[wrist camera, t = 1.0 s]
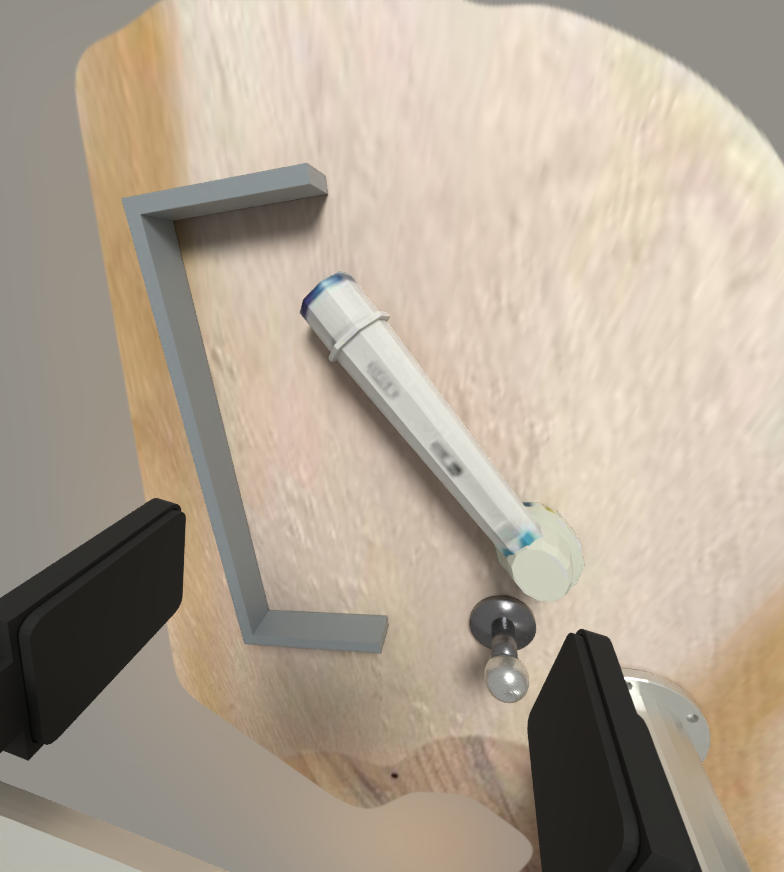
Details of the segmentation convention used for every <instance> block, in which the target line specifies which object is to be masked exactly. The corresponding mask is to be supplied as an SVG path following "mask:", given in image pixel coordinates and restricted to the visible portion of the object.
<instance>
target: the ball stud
mask: <svg viewBox="0 0 784 872" xmlns="http://www.w3.org/2000/svg"><path fill="white" fill-rule="evenodd" d="M471 629H472V632H473V634H474V636H475V637H476V639H477V640H478V641H479V642H480V643H481V644H483V645H484V646H486V647H488V648H490V649H492V658H490V660H489V661H488V662H487V664H486V666H485V670H484V680H485V684H486V686H487V689H488V690H489V692H490V693H491V694H492V695H493V696H494V697H495V698H496V699H497V700H499V701H501V702H505V703H514V702H517V701H519V700H521V699H522V698H523V697H524V696H525V694H526V693H527V690H528V687H529V675H528V672H527V669H526V667H525V666H524V664H523V663H522V662H521V660H519V659H518V655H517V650H520V649H522V648H524V647H525V646H527V645H528V644H529V643H530V642H531V641H532V640H533V638H534V636H535V633H536V624H535V618H534V615H533V613H532V611H531V610H530V609H529V607H528V606H527V605H526V604H524V603H523V602H521V601H520V600H518V599H515V598H512V597H509V596H492V597H488V598H485V599H483V600H482V601H480V602H479V603H478V604H477V605H476V606H475V607H474V609H473V611H472V613H471Z"/></svg>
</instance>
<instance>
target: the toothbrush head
mask: <svg viewBox="0 0 784 872" xmlns="http://www.w3.org/2000/svg"><path fill="white" fill-rule="evenodd" d="M300 314H301V315H302V316H303V318H304V319H305V320H306V321H307V323H308V324H309V325H310V327H311V328H312V329H313V330H314V332H315V333H316V334H317V335H318V337H319V338H320V339H321V340H322V342H323V343H324V344H325V346H326V347H327V348H328V349H329V351H330V352H331V353H330V355H329V357H328V359H329V360H330V361H331V362H336V361H338V362H339V363H340V364H341V365H342V366H343V368H344V369H345V370H346V371H347V372H348V374H349V375H350V376H351V377H352V378H353V379H354V381H355V382H356V383H357V384H358V385H359V386H360V388H361V389H362V390H363V391H364V392H365V393H366V395H367V396H368V397H369V398H370V399H371V400H372V402H373V403H374V404H375V405H376V406H377V407H378V409H379V410H380V411H381V412H382V413H383V414H384V416H385V417H386V418H387V419H388V420H389V421H390V423H391V424H392V425H393V426H394V427H395V428H396V430H397V431H398V432H399V433H400V434H401V435H402V437H403V438H404V439H405V440H406V441H407V442H408V444H409V445H410V446H411V447H412V448H413V450H414V451H415V452H416V453H417V454H418V455H419V457H420V458H421V459H422V460H423V461H424V462H425V464H426V465H427V466H428V467H429V468H430V469H431V471H432V472H433V473H434V474H435V475H436V476H437V478H438V479H439V480H440V481H441V482H442V483H443V485H444V486H445V487H446V488H447V489H448V490H449V492H450V493H451V494H452V495H453V496H454V497H455V499H456V500H457V501H458V502H459V503H460V504H461V506H462V507H463V508H464V509H465V510H466V511H467V513H468V514H469V515H470V516H471V517H472V518H473V520H474V521H475V522H476V523H477V524H478V526H479V527H480V528H481V529H482V530H483V531H484V533H485V534H486V535H487V536H488V537H489V538H490V540H491V541H492V542H493V543H494V544H495V549H496V553H497V558H498V561H499V563H500V564H501V565H502V566H503V568H504V569H505V570H506V571H507V573H508V574H509V575H510V577H511V578H512V579H513V580H514V581H515V583H516V584H517V585H518V586H519V588H520V589H521V590H522V591H523V592H524V593H525V594H527V595H529V596H530V597H532V598H534V599H536V600H538V601H547V602H553V601H555V600H557V599H559V598H561V597H563V596H565V595H566V594H567V593H568V591H569V589H570V587H572V586H574V585H576V584H577V582H578V579H579V577H580V575H581V573H582V571H583V569H584V566H585V564H584V559H583V553H582V548H581V543H580V539H579V538H578V536H577V535H576V534H575V532H574V531H573V530H572V529H571V527H570V526H569V525H568V524H567V522H566V521H565V520H564V519H563V517H562V516H561V515H560V514H559V512H558V511H557V512H555V511H553V510H551V509H550V508H548V507H546V506H544V505H542V504H540V503H539V502H531V503H522V502H521V501H520V499H519V498H518V497H517V495H516V494H515V492H514V491H513V490H512V488H511V487H510V486H509V484H508V483H507V482H506V480H505V479H504V478H503V476H502V475H501V474H500V472H499V471H498V470H497V468H496V467H495V466H494V464H493V463H492V462H491V460H490V459H489V458H488V456H487V455H486V454H485V452H484V451H483V450H482V448H481V447H480V446H479V444H478V443H477V442H476V440H475V439H474V438H473V436H472V435H471V434H470V432H469V431H468V429H467V428H466V427H465V425H464V424H463V423H462V421H461V420H460V419H459V417H458V416H457V415H456V413H455V412H454V411H453V409H452V408H451V407H450V405H449V404H448V403H447V401H446V400H445V399H444V397H443V396H442V395H441V393H440V392H439V391H438V389H437V388H436V387H435V385H434V384H433V383H432V381H431V380H430V379H429V377H428V376H427V375H426V373H425V372H424V371H423V369H422V368H421V366H420V365H419V364H418V362H417V361H416V360H415V358H414V357H413V356H412V354H411V353H410V352H409V350H408V349H407V348H406V346H405V345H404V344H403V342H402V341H401V340H400V338H399V337H398V336H397V334H396V333H395V332H394V330H393V329H392V328H391V326H390V325H389V324H388V322H387V321H388V319H389V318H390V315H389V314H388V313H387V312H382V311H378V309H377V308H376V307H375V306H374V304H373V303H372V302H371V300H370V299H369V298H368V297H367V295H366V294H365V293H364V292H363V290H362V289H361V288H360V286H359V285H358V284H357V283H356V281H355V280H354V279H353V278H352V276H351V275H350V274H348V273H345V272H342V271H340V272H338V273H336V274H334V275H332V276H330V277H328V278H326V279H325V280H323V281H321V282H320V283H319V284H318V285H317V286H316V287H315V288H314V289H313V290H312V291H311V292H310V293H309V294H308V295H307V296H306V297H305V298H304V299H303V302H302V306H301V310H300Z"/></svg>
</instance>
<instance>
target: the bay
mask: <svg viewBox="0 0 784 872" xmlns="http://www.w3.org/2000/svg"><path fill="white" fill-rule="evenodd" d="M325 194H328V190H327V183H326V176H325V175H324V174H322V173H321V172H320V171H318V170H317V169H315V168H314V167H312V166H311V165H309V164H308V163H304V164H298V165H293V166H288V167H283V168H278V169H272V170H267V171H262V172H257V173H251V174H246V175H241V176H236V177H231V178H225V179H220V180H215V181H210V182H204V183H199V184H194V185H189V186H184V187H178V188H173V189H168V190H163V191H157V192H152V193H147V194H142V195H137V196H131V197H126V198H121V199H122V203H123V206H124V210H125V214H126V217H127V221H128V224H129V228H130V232H131V235H132V239H133V243H134V246H135V250H136V253H137V257H138V261H139V264H140V268H141V271H142V275H143V279H144V282H145V286H146V290H147V293H148V297H149V300H150V304H151V308H152V311H153V315H154V319H155V322H156V326H157V329H158V333H159V337H160V340H161V344H162V347H163V351H164V355H165V358H166V362H167V366H168V369H169V373H170V376H171V380H172V384H173V387H174V391H175V394H176V398H177V402H178V405H179V409H180V413H181V416H182V420H183V423H184V427H185V431H186V434H187V438H188V441H189V445H190V449H191V452H192V456H193V460H194V463H195V467H196V470H197V474H198V478H199V481H200V485H201V489H202V492H203V496H204V499H205V503H206V507H207V510H208V514H209V517H210V521H211V525H212V528H213V532H214V536H215V539H216V543H217V546H218V550H219V554H220V557H221V561H222V564H223V568H224V572H225V575H226V579H227V583H228V586H229V590H230V593H231V597H232V601H233V604H234V608H235V612H236V615H237V619H238V622H239V626H240V630H241V633H242V637H243V640H244V644H252V645H267V646H282V647H296V648H311V649H326V650H341V651H356V652H371V653H381V652H382V648H383V644H384V641H385V637H386V633H387V629H388V618H387V616H381V615H360V614H340V613H319V612H298V611H277V610H269V609H268V605H267V601H266V597H265V593H264V589H263V584H262V580H261V576H260V572H259V568H258V564H257V560H256V556H255V552H254V548H253V544H252V540H251V536H250V532H249V528H248V524H247V519H246V515H245V511H244V507H243V503H242V499H241V495H240V491H239V487H238V483H237V479H236V475H235V471H234V467H233V463H232V459H231V454H230V450H229V446H228V442H227V438H226V434H225V430H224V426H223V422H222V418H221V414H220V410H219V406H218V402H217V398H216V394H215V389H214V385H213V381H212V377H211V373H210V369H209V365H208V361H207V357H206V353H205V349H204V345H203V341H202V337H201V333H200V329H199V324H198V320H197V316H196V312H195V308H194V304H193V300H192V296H191V292H190V288H189V284H188V280H187V276H186V272H185V268H184V264H183V259H182V255H181V251H180V247H179V243H178V239H177V235H176V231H175V227H174V223H173V221H175V220H180V219H186V218H192V217H198V216H203V215H209V214H215V213H221V212H227V211H232V210H238V209H244V208H250V207H255V206H261V205H267V204H273V203H279V202H284V201H290V200H296V199H302V198H307V197H313V196H319V195H325Z"/></svg>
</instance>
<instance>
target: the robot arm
mask: <svg viewBox="0 0 784 872" xmlns="http://www.w3.org/2000/svg"><path fill="white" fill-rule="evenodd" d="M185 523H186V516H185V514H184V513H183V512H181V507H180V506H179V505H178V504H175V503H172V502H168V501H165V500H162V499H159V498H154V499H152V500H150V501H148V502H147V503H145V504H144V505H142V506H141V507H139V508H138V509H136V510H135V511H133V512H132V513H130V514H128V515H127V516H125V517H124V518H122V519H121V520H119V521H118V522H116V523H115V524H113V525H112V526H110V527H108V528H107V529H105V530H104V531H102V532H101V533H99V534H98V535H96V536H95V537H93V538H92V539H90V540H89V541H87V542H86V543H84V544H83V545H81V546H79V547H78V548H76V549H75V550H73V551H72V552H70V553H69V554H67V555H66V556H64V557H62V558H61V559H59V560H58V561H56V562H55V563H53V564H52V565H50V566H49V567H47V568H46V569H44V570H43V571H41V572H40V573H38V574H36V575H35V576H33V577H32V578H30V579H29V580H27V581H26V582H24V583H23V584H21V585H20V586H18V587H16V588H15V589H13V590H12V591H10V592H9V593H8V594H6V595H4V596H3V597H1V598H0V753H1V752H2V751H3V750H4V751H5V752H8V753H11V754H13V755H16V756H18V757H21V758H23V759H26V760H29V759H30V758H31V757H32V756H33V755H34V754H35V753H36V752H37V751H38V750H39V749H40V748H41V747H42V746H43V745H44V744H46V745H48V744H51V743H53V742H54V741H55V740H57V739H58V738H59V737H60V736H61V735H62V734H63V732H64V731H65V730H66V729H67V728H68V727H69V726H70V725H71V724H72V723H73V721H75V720H76V719H77V717H78V716H79V715H80V714H81V713H82V712H83V711H84V710H85V709H86V708H87V707H88V706H89V705H90V703H91V702H92V701H93V700H94V699H95V698H96V697H97V696H98V695H99V694H100V693H101V692H102V691H103V689H104V688H105V687H106V686H107V685H108V684H109V683H110V682H111V681H112V680H113V679H114V678H115V677H116V675H118V673H119V672H120V671H121V670H122V669H123V668H124V667H125V666H126V665H127V664H128V663H129V662H130V661H131V660H132V658H133V657H134V656H135V655H136V654H137V653H138V652H139V651H140V650H141V649H142V648H143V647H144V646H145V645H146V643H147V642H148V641H149V640H150V639H151V638H152V637H153V636H154V635H155V634H156V633H157V631H159V629H160V628H161V627H162V626H163V625H164V624H165V623H166V622H167V621H168V620H169V619H170V618H171V617H172V616H173V614H174V613H175V612H176V611H177V609H178V608H179V606H180V604H181V601H182V596H183V572H184V547H185ZM527 730H528V741H529V751H530V760H531V770H532V779H533V789H534V798H535V808H536V818H537V827H538V837H539V846H540V856H541V865H542V872H752V869H751V867H750V865H749V863H748V861H747V859H746V856H745V854H744V852H743V850H742V848H741V846H740V843H739V841H738V839H737V837H736V835H735V833H734V831H733V828H732V826H731V824H730V822H729V820H728V818H727V815H726V813H725V811H724V809H723V807H722V805H721V802H720V800H719V798H718V796H717V794H716V792H715V790H714V787H713V785H712V783H711V781H710V779H709V777H708V774H707V772H706V770H705V768H704V766H703V764H702V762H703V761H704V759H705V758H706V757H707V754H708V751H709V748H710V735H711V734H710V730H709V727H708V723H707V721H706V719H705V717H704V715H703V713H702V711H701V709H700V707H699V706H698V705H697V704H696V702H695V701H694V700H693V698H692V697H691V696H690V695H689V694H688V693H686V692H685V691H684V690H683V689H682V688H681V687H679V686H677V685H676V684H674V683H672V682H670V681H669V680H667V679H664V678H662V677H659V676H657V675H654V674H652V673H648V672H643V671H639V670H635V669H625V668H621V667H620V664H619V662H618V659H617V656H616V653H615V651H614V648H613V645H612V643H611V641H610V639H609V638H608V637H607V636H603V635H600V634H597V633H594V632H590V631H587V630H584V629H580V630H578V631H577V633H576V634H574V633H569V634H568V635H567V637H566V639H565V641H564V643H563V645H562V647H561V650H560V652H559V654H558V656H557V658H556V660H555V662H554V664H553V666H552V668H551V670H550V672H549V674H548V677H547V679H546V681H545V683H544V685H543V687H542V689H541V691H540V693H539V695H538V697H537V699H536V701H535V704H534V706H533V708H532V710H531V712H530V715H529V718H528V727H527ZM0 872H229V871H227V870H224V869H222V868H219V867H217V866H214V865H211V864H209V863H207V862H204V861H201V860H199V859H197V858H194V857H192V856H189V855H187V854H184V853H182V852H179V851H177V850H174V849H171V848H169V847H167V846H164V845H162V844H159V843H157V842H154V841H152V840H149V839H147V838H144V837H142V836H139V835H137V834H134V833H131V832H129V831H126V830H124V829H121V828H119V827H116V826H114V825H111V824H108V823H106V822H104V821H101V820H98V819H96V818H93V817H91V816H88V815H86V814H83V813H81V812H78V811H76V810H73V809H71V808H68V807H66V806H63V805H61V804H58V803H56V802H53V801H50V800H48V799H45V798H43V797H40V796H38V795H35V794H33V793H30V792H28V791H25V790H22V789H19V788H17V787H14V786H12V785H9V784H6V783H3V782H1V781H0Z"/></svg>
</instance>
